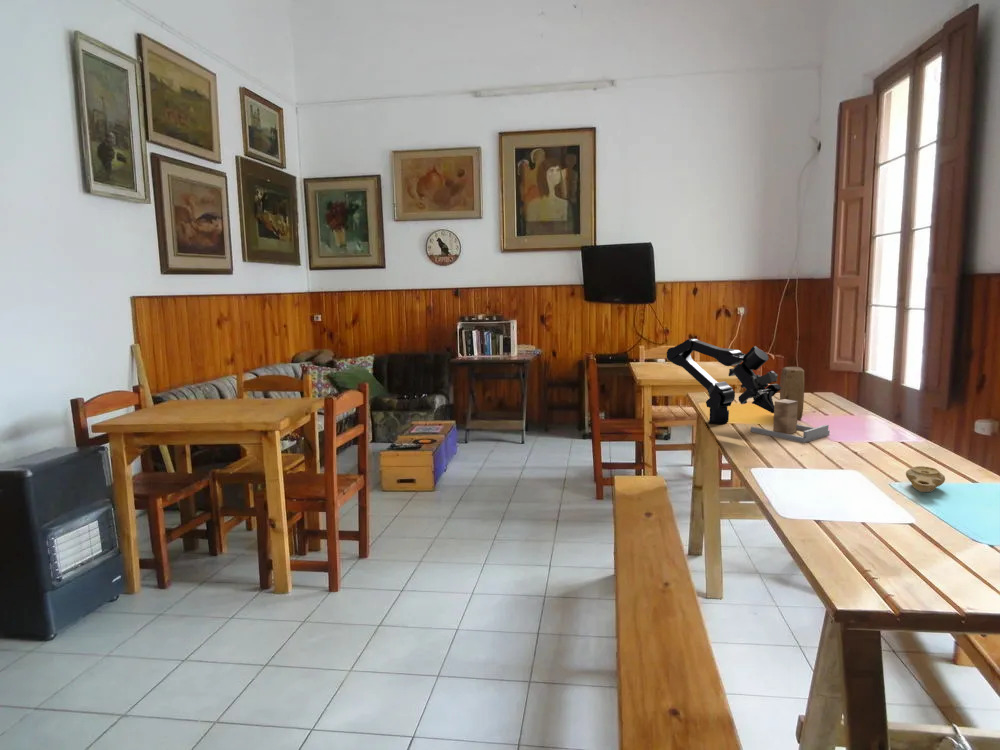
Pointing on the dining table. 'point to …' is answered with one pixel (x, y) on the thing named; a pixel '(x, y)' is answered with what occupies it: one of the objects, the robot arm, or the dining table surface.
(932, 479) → the oil lamp
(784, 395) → the block
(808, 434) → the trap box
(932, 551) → the dining table surface
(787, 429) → the slider
